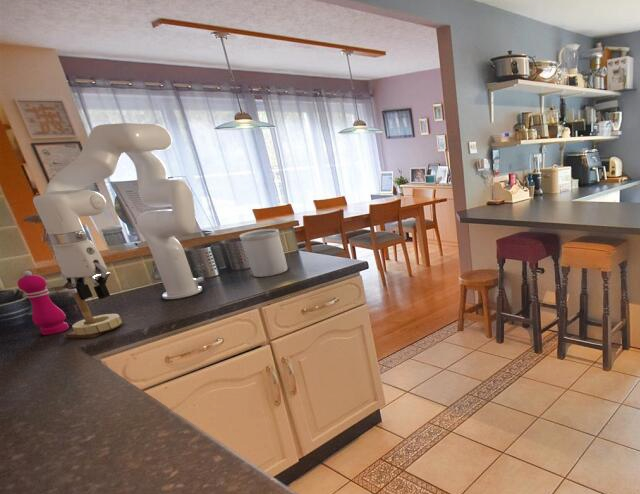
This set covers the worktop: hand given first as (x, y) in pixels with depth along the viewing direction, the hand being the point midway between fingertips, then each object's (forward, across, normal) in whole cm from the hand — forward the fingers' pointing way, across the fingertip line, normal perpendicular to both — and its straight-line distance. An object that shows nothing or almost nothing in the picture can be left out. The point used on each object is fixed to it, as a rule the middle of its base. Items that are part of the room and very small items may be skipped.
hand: (95, 297), depth 131 cm
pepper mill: (+11, +20, -2) cm, 23 cm away
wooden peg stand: (+11, +5, 0) cm, 12 cm away
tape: (+10, +4, 0) cm, 11 cm away
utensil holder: (+12, -17, -59) cm, 63 cm away
